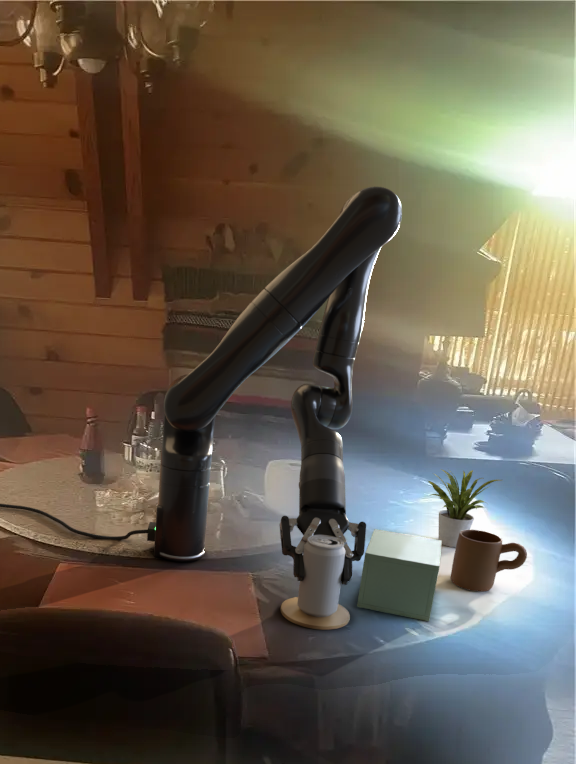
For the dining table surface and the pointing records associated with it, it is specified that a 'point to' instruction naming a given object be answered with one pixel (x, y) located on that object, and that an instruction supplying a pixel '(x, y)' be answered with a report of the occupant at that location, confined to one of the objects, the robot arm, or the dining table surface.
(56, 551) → the dining table surface
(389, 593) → the cabinet
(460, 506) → the house plant
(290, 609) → the coaster
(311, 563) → the beverage can
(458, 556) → the mug
